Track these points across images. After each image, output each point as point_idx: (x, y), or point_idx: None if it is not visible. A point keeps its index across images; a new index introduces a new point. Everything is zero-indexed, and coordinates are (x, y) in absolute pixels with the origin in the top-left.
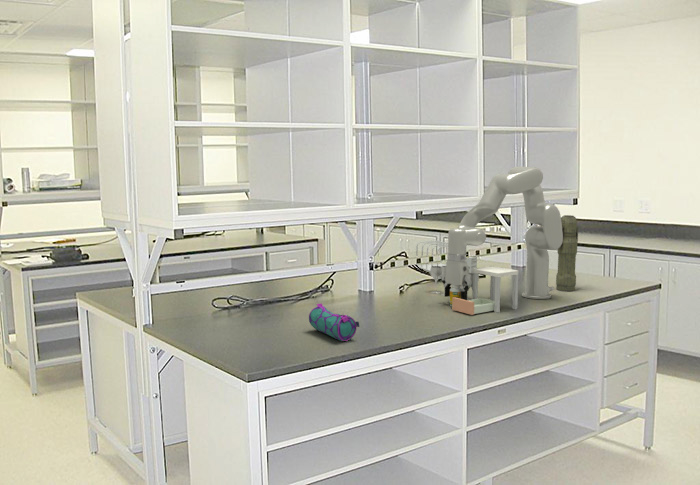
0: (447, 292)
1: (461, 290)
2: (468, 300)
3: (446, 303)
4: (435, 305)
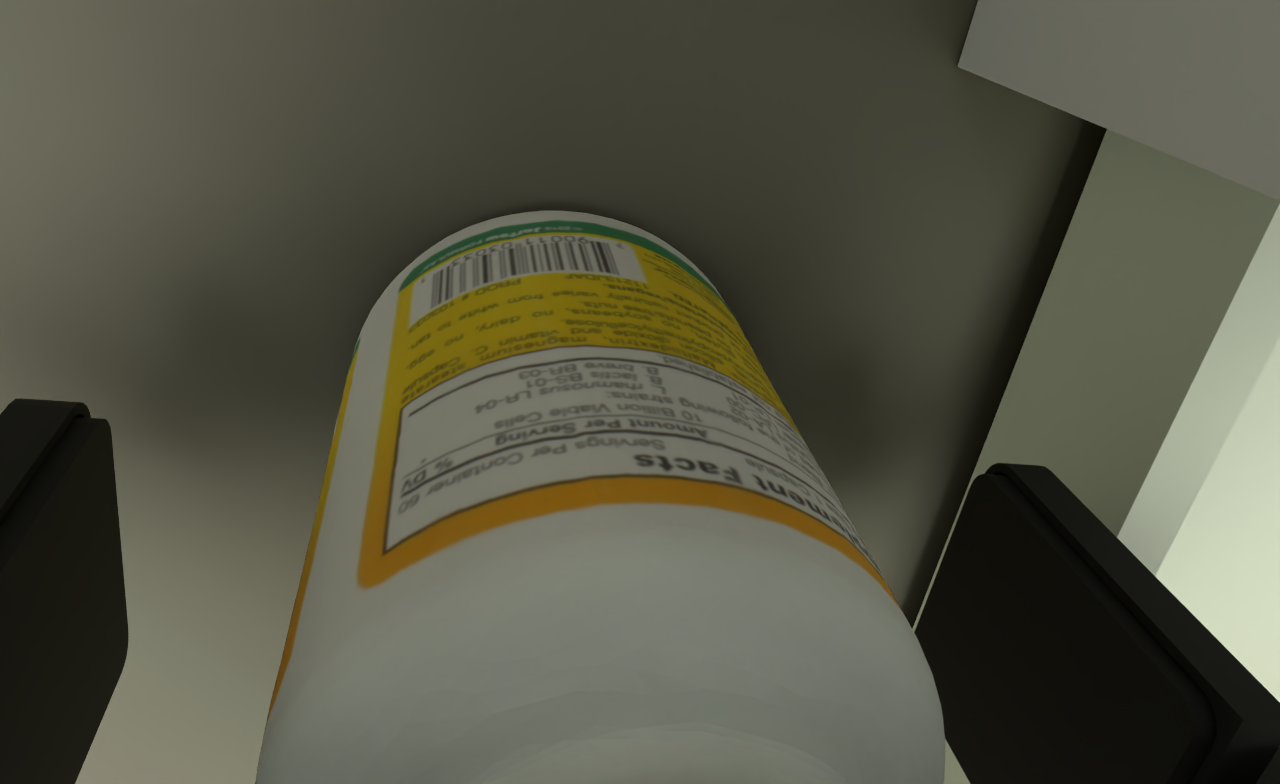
0: (68, 720)
1: (943, 772)
2: (1142, 541)
3: (65, 338)
4: (128, 720)
